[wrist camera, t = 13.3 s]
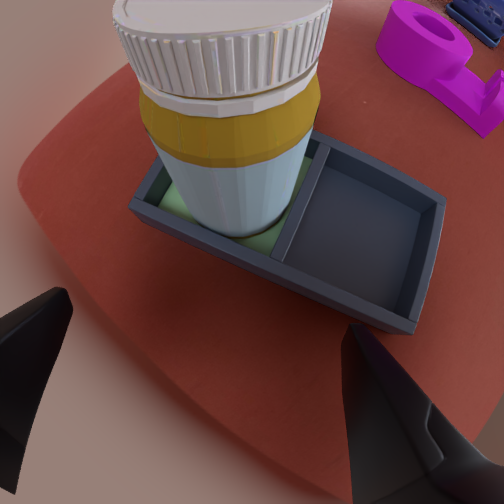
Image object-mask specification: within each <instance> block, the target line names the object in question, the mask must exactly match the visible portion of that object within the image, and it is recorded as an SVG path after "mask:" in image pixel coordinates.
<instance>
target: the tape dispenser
mask: <svg viewBox="0 0 504 504" xmlns="http://www.w3.org/2000/svg"><path fill="white" fill-rule="evenodd" d="M376 49H377V52H378V54H379V56H380V57H381V59H382V60H383V61H384V63H385V64H386V65H387V66H388V67H389V68H390V69H392V70H393V71H394V72H395V73H396V74H398V75H399V76H400V77H402V78H403V79H405V80H406V81H408V82H410V83H412V84H414V85H416V86H418V87H420V88H422V89H425V90H426V91H428V92H429V93H430V94H432V95H433V96H434V97H436V98H437V99H438V100H440V101H441V102H442V103H443V104H445V105H446V106H447V107H448V108H450V109H451V110H452V111H453V112H454V113H456V114H457V115H458V116H459V117H460V118H461V119H463V120H464V121H465V122H466V123H467V124H468V125H469V126H470V127H471V128H473V129H474V130H475V131H476V132H477V133H478V134H479V135H480V136H481V137H482V138H483V139H484V138H485V137H486V136H487V135H488V134H489V133H490V132H491V131H492V130H493V129H494V128H495V127H496V126H497V125H499V124H500V123H501V122H502V121H503V120H504V72H503V71H502V70H501V69H499V70H497V71H496V72H495V73H494V75H493V76H492V77H491V78H490V79H489V81H488V82H487V83H486V84H485V83H484V82H483V81H482V80H481V79H479V78H478V77H477V76H476V75H475V74H473V73H472V72H471V71H470V70H469V69H467V68H466V67H465V66H464V65H465V64H466V62H467V61H468V59H469V58H470V57H471V55H472V53H473V50H472V47H471V45H470V43H469V41H468V40H467V38H466V37H465V36H464V35H463V34H462V33H461V32H460V31H459V30H458V29H457V28H456V27H455V26H454V25H453V24H452V23H450V22H449V21H448V20H446V19H445V18H444V17H442V16H441V15H439V14H437V13H436V12H434V11H432V10H430V9H428V8H426V7H424V6H422V5H419V4H416V3H413V2H409V1H404V0H397V1H394V2H393V3H392V5H391V7H390V10H389V13H388V15H387V18H386V20H385V23H384V25H383V28H382V30H381V33H380V35H379V38H378V40H377V43H376Z"/></svg>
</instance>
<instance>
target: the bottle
mask: <svg viewBox="0 0 504 504" xmlns="http://www.w3.org/2000/svg"><path fill="white" fill-rule="evenodd" d="M332 2H333V0H116V2H115V4H114V6H113V22H114V23H113V24H114V26H115V28H116V31H117V33H118V36H119V38H120V41H121V43H122V46H123V48H124V50H125V53H126V56H127V58H128V60H129V63H130V65H131V66H132V69H133V71H135V73H136V75H137V78H138V80H139V83H140V98H139V105H140V112H141V118H142V120H143V123H144V125H145V128H146V130H147V133H148V134H149V136H150V138H151V140H152V142H153V144H154V146H155V148H156V150H157V152H158V154H159V156H160V158H161V160H162V162H163V163H164V165H165V167H166V169H167V171H168V173H169V175H170V177H171V179H172V181H173V182H174V184H175V186H176V188H177V190H178V192H179V194H180V195H181V197H182V199H183V201H184V203H185V205H186V207H187V208H188V210H189V212H190V213H191V214H192V216H193V217H194V219H195V220H196V222H197V223H198V224H199V225H200V226H202V227H203V228H205V229H208V230H210V231H212V232H214V233H217V234H219V235H221V236H223V237H226V238H228V239H246V238H250V237H253V236H257V235H260V234H262V233H264V232H266V231H267V230H268V229H270V228H271V227H273V226H274V225H275V224H276V223H277V222H278V221H279V220H280V218H281V217H282V216H283V214H284V213H285V211H286V209H287V207H288V205H289V201H290V198H291V195H292V192H293V189H294V186H295V183H296V180H297V176H298V173H299V170H300V167H301V164H302V160H303V157H304V154H305V151H306V148H307V144H308V141H309V138H310V135H311V131H312V128H313V125H314V122H315V118H316V115H317V112H318V105H319V102H320V88H319V83H318V78H317V74H316V68H317V64H318V56H319V53H320V51H321V49H322V45H323V41H324V37H325V33H326V28H327V24H328V20H329V15H330V11H331V7H332Z"/></svg>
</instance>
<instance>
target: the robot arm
mask: <svg viewBox="0 0 504 504" xmlns="http://www.w3.org/2000/svg"><path fill="white" fill-rule="evenodd" d="M72 314H73V306H72V303H71V300H70V298H69V295H68V292H67V290H66V289H65V288H61V287H54V288H52V289H50V290H48V291H47V292H45V293H43V294H41V295H40V296H37V297H36V298H34V299H32V300H30V301H29V302H27V303H25V304H23V305H22V306H20V307H19V308H17V309H15V310H13V311H11V312H10V313H8V314H6V315H5V316H3V317H1V318H0V487H1V488H3V489H4V490H6V491H8V492H10V493H12V494H14V495H15V493H16V489H17V484H18V479H19V474H20V470H21V465H22V461H23V457H24V453H25V449H26V445H27V442H28V438H29V435H30V431H31V428H32V424H33V422H34V418H35V415H36V412H37V409H38V406H39V404H40V401H41V398H42V395H43V392H44V390H45V387H46V384H47V381H48V379H49V376H50V374H51V371H52V369H53V366H54V364H55V361H56V359H57V357H58V354H59V352H60V349H61V346H62V343H63V340H64V337H65V334H66V331H67V328H68V325H69V322H70V319H71V317H72ZM341 366H342V395H343V404H344V412H345V420H346V428H347V437H348V447H349V457H350V468H351V481H352V496H353V504H504V466H500V465H497V464H495V463H493V462H491V461H490V460H488V459H487V458H486V457H485V456H483V455H482V454H481V453H480V452H479V451H478V450H477V449H476V448H475V447H474V446H473V445H472V444H471V443H470V442H469V441H468V440H467V439H466V438H465V437H464V436H463V435H462V434H461V433H460V432H459V431H458V430H457V429H456V428H455V427H454V426H453V425H452V424H451V423H450V422H449V421H448V419H447V418H446V417H445V416H444V415H443V414H442V413H441V411H440V410H439V409H438V408H437V407H436V406H435V404H434V403H432V401H431V400H430V399H429V397H428V396H427V395H426V394H425V393H424V392H423V391H422V389H421V388H420V387H419V386H418V385H417V384H416V382H415V381H414V380H413V379H412V378H411V377H410V376H409V374H408V373H407V372H406V371H405V370H404V369H403V368H402V366H401V365H400V364H399V363H398V362H397V361H396V360H395V358H394V357H393V356H392V355H391V354H390V353H389V352H388V351H387V349H386V348H385V347H384V346H383V345H382V344H381V343H380V342H379V341H378V339H377V338H376V337H375V336H374V335H373V334H372V333H371V332H370V331H369V330H368V328H367V327H366V326H365V325H364V324H361V323H351V324H349V326H348V328H347V330H346V333H345V335H344V338H343V340H342V343H341Z"/></svg>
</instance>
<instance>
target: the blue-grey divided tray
mask: <svg viewBox="0 0 504 504" xmlns="http://www.w3.org/2000/svg"><path fill="white" fill-rule="evenodd" d="M446 200H447V198H445V197H444V196H442V195H440V194H439V193H437V192H436V191H434V190H432V189H431V188H429V187H427V186H426V185H424V184H422V183H420V182H419V181H417V180H415V179H413V178H412V177H410V176H408V175H406V174H405V173H403V172H401V171H399V170H397V169H395V168H393V167H392V166H390V165H388V164H386V163H384V162H382V161H380V160H378V159H376V158H374V157H372V156H370V155H368V154H366V153H364V152H362V151H360V150H358V149H356V148H354V147H351V146H349V145H347V144H345V143H343V142H340V141H338V140H336V139H334V138H331V137H329V136H327V135H325V134H322V133H320V132H317V131H315V130H313V129H312V131H311V135H310V138H309V141H308V144H307V148H306V151H305V154H304V157H303V160H302V164H301V167H300V170H299V173H298V176H297V180H296V183H295V186H294V189H293V192H292V195H291V198H290V201H289V205H288V207H287V209H286V211H285V213H284V214H283V216H282V217H281V218H280V220H279V221H278V222H277V223H276V224H275V225H274V226H273V227H271V228H270V229H268V230H267V231H266V232H264V233H262V234H260V235H257V236H253V237H250V238H246V239H228V238H226V237H223V236H221V235H219V234H217V233H214V232H212V231H210V230H208V229H205V228H203V227H202V226H200V225H199V224H198V223H197V222H196V220H195V219H194V217H193V216H192V214H191V213H190V212H189V210H188V208H187V207H186V205H185V203H184V201H183V199H182V197H181V195H180V194H179V192H178V190H177V188H176V186H175V184H174V182H173V181H172V179H171V177H170V175H169V173H168V171H167V169H166V167H165V165H164V163H163V162H162V160H161V158H160V156H159V155H158V157H157V158H156V160H155V161H154V163H153V165H152V166H151V168H150V169H149V171H148V173H147V174H146V176H145V177H144V179H143V181H142V182H141V184H140V186H139V187H138V189H137V191H136V192H135V194H134V197H133V198H132V200H131V201H130V203H129V205H128V208H129V209H130V210H131V211H132V212H133V213H134V214H135V215H136V216H137V217H138V218H139V219H140V220H141V221H142V222H144V223H146V224H148V225H150V226H152V227H154V228H156V229H158V230H160V231H163V232H165V233H167V234H169V235H171V236H173V237H175V238H177V239H180V240H182V241H184V242H186V243H188V244H190V245H192V246H195V247H197V248H199V249H201V250H203V251H205V252H208V253H210V254H212V255H214V256H216V257H218V258H221V259H223V260H225V261H227V262H229V263H231V264H234V265H236V266H238V267H240V268H242V269H245V270H247V271H249V272H251V273H253V274H256V275H258V276H260V277H262V278H265V279H267V280H269V281H271V282H273V283H276V284H278V285H280V286H282V287H285V288H287V289H289V290H291V291H294V292H296V293H298V294H300V295H303V296H305V297H307V298H309V299H312V300H314V301H316V302H318V303H321V304H323V305H325V306H328V307H330V308H332V309H335V310H337V311H339V312H341V313H344V314H346V315H348V316H351V317H353V318H355V319H358V320H360V321H362V322H365V323H367V324H369V325H372V326H374V327H376V328H379V329H381V330H383V331H386V332H388V333H390V334H400V335H413V334H414V331H415V328H416V325H417V324H416V323H417V322H418V319H419V316H420V313H421V310H422V306H423V303H424V300H425V296H426V293H427V289H428V286H429V282H430V278H431V274H432V271H433V267H434V262H435V258H436V254H437V249H438V244H439V240H440V235H441V229H442V224H443V218H444V212H445V206H446Z"/></svg>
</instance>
